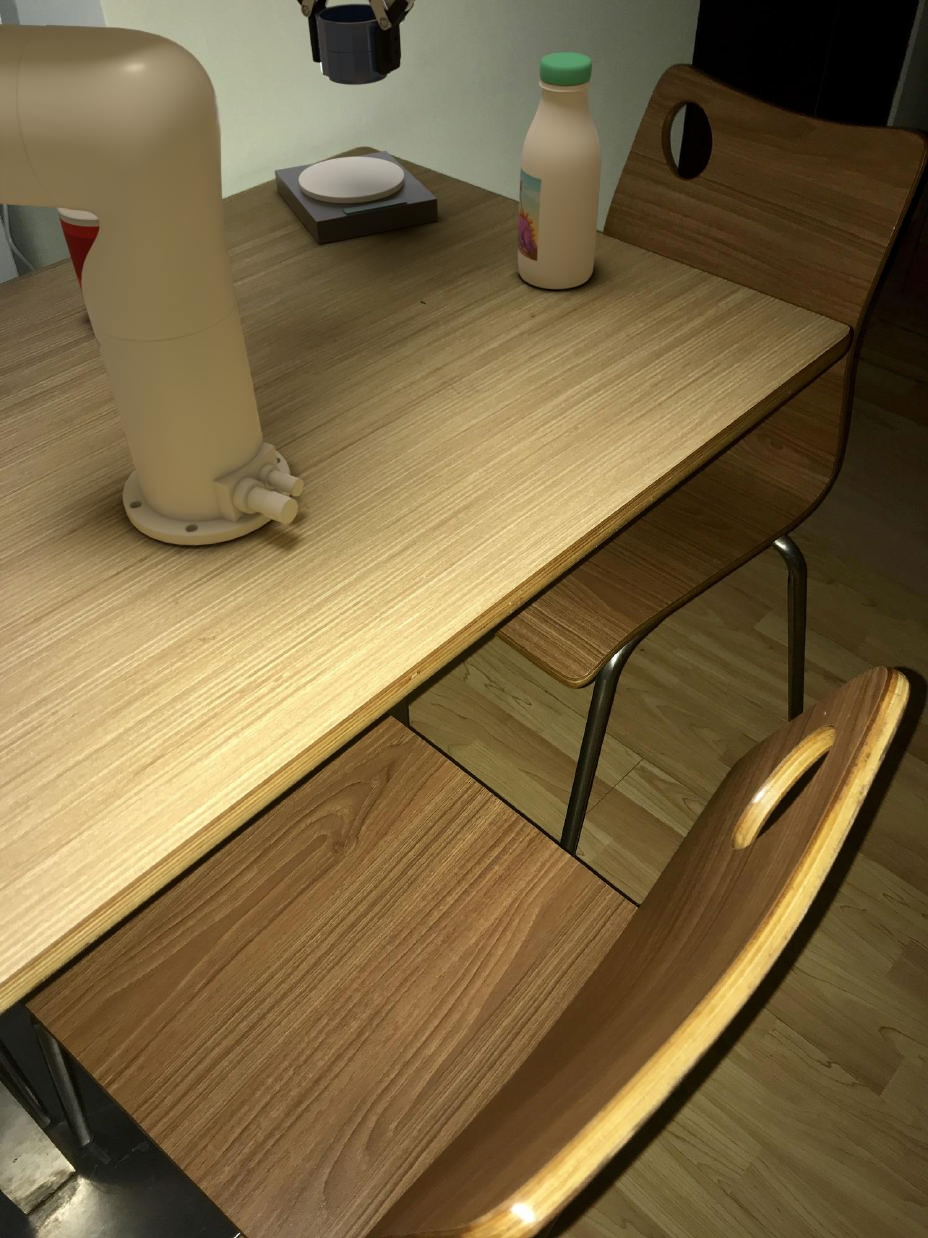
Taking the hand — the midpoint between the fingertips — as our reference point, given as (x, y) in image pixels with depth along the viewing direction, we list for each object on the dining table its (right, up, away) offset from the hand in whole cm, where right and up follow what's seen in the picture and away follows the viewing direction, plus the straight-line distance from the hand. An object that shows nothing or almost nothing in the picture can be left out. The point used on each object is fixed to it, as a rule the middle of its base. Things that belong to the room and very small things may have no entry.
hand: (356, 63), depth 100 cm
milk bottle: (+20, -21, +2) cm, 29 cm away
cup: (0, -1, +1) cm, 1 cm away
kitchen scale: (-2, -8, +15) cm, 17 cm away
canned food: (-22, -26, -3) cm, 34 cm away
